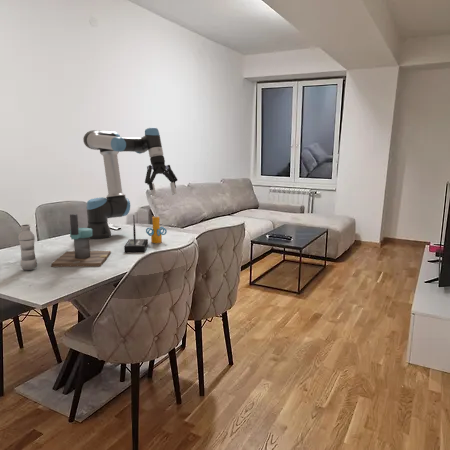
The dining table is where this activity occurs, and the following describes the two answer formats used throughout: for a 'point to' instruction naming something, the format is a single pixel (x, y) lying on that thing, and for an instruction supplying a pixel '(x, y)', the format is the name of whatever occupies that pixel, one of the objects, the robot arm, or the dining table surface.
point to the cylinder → (156, 230)
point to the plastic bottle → (27, 248)
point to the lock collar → (78, 229)
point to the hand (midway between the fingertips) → (164, 195)
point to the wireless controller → (136, 243)
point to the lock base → (83, 262)
